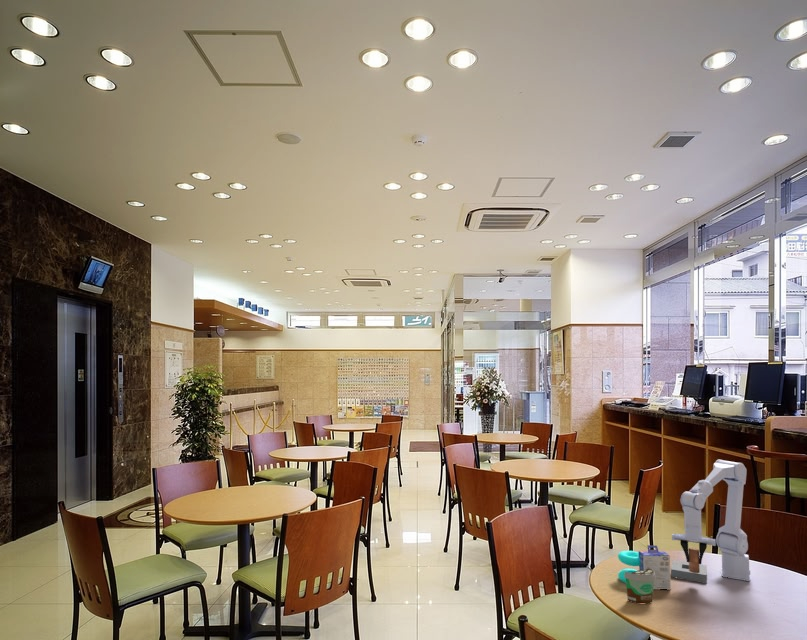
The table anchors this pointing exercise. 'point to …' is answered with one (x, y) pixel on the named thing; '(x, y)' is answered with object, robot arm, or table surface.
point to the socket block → (688, 572)
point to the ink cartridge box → (657, 566)
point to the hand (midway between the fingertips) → (694, 562)
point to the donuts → (628, 562)
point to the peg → (694, 560)
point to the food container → (640, 585)
